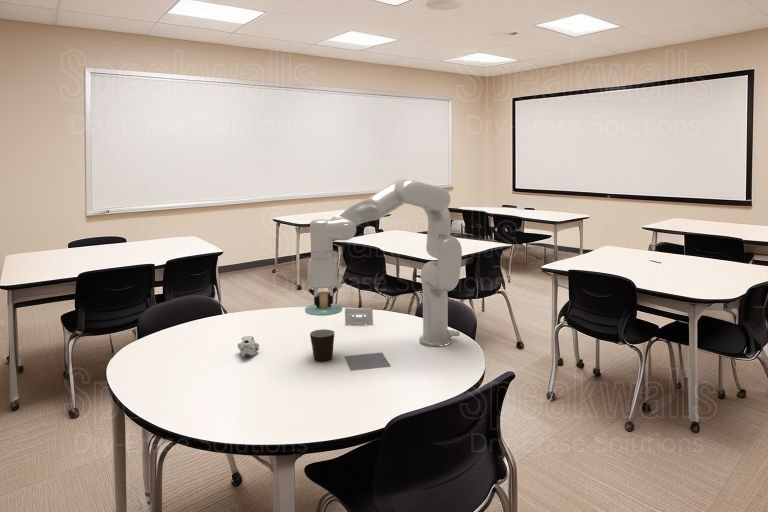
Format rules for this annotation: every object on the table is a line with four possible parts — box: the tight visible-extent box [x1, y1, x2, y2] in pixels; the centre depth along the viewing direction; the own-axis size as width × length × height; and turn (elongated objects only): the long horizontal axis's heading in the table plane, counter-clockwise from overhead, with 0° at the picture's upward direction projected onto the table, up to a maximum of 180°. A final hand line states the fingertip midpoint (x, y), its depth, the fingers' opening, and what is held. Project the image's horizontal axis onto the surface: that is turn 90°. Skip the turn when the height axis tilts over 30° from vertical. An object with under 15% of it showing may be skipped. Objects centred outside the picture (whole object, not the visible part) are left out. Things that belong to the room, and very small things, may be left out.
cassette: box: [344, 307, 374, 327], centre depth 226 cm, size 12×2×8 cm, turn 87°
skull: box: [237, 335, 260, 358], centre depth 192 cm, size 8×9×12 cm
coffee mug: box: [309, 328, 335, 363], centre depth 187 cm, size 12×9×10 cm
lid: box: [304, 291, 343, 317], centre depth 184 cm, size 13×13×6 cm
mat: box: [344, 352, 392, 372], centre depth 184 cm, size 14×14×1 cm
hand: (323, 305), depth 185 cm, fingers closed on lid, 3 cm apart
